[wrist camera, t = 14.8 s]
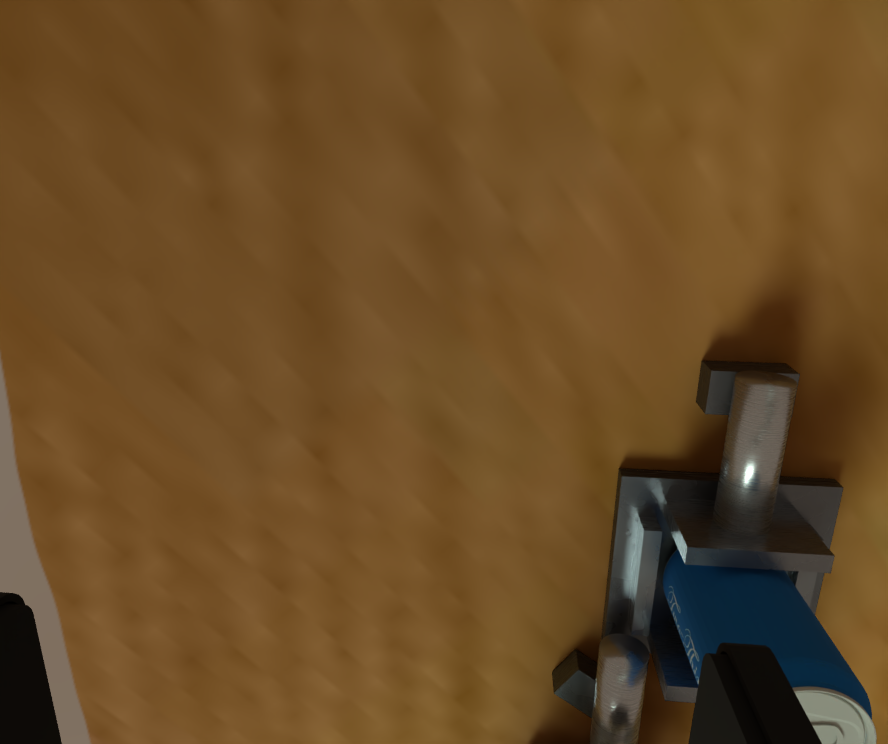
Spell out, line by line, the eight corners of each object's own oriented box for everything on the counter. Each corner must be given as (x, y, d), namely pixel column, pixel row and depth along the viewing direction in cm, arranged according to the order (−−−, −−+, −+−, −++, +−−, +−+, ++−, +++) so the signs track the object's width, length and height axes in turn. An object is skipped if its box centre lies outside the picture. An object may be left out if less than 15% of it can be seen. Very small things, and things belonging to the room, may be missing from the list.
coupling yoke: (577, 354, 36) (590, 391, 31) (860, 364, 35) (928, 404, 30) (549, 702, 44) (556, 783, 38) (781, 720, 43) (824, 807, 37)
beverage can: (658, 525, 38) (724, 683, 27) (776, 519, 37) (895, 679, 26) (660, 619, 40) (722, 803, 29) (772, 615, 39) (880, 802, 28)
